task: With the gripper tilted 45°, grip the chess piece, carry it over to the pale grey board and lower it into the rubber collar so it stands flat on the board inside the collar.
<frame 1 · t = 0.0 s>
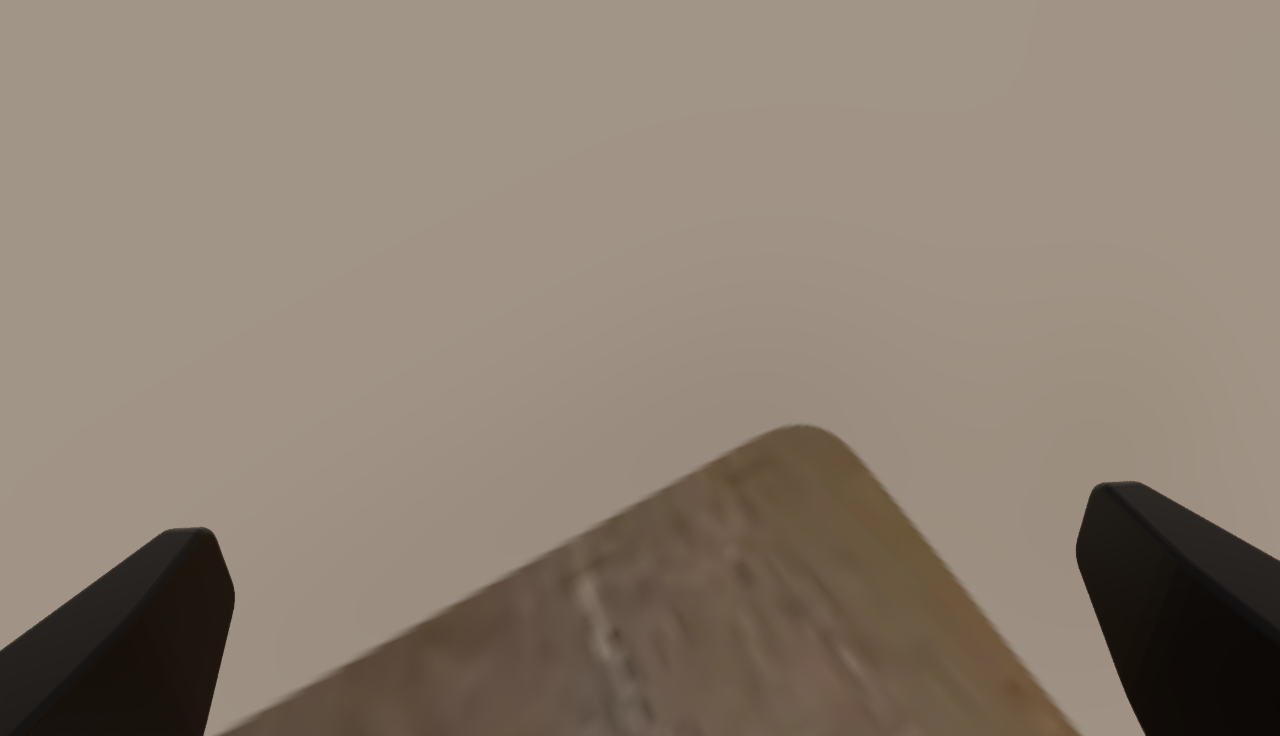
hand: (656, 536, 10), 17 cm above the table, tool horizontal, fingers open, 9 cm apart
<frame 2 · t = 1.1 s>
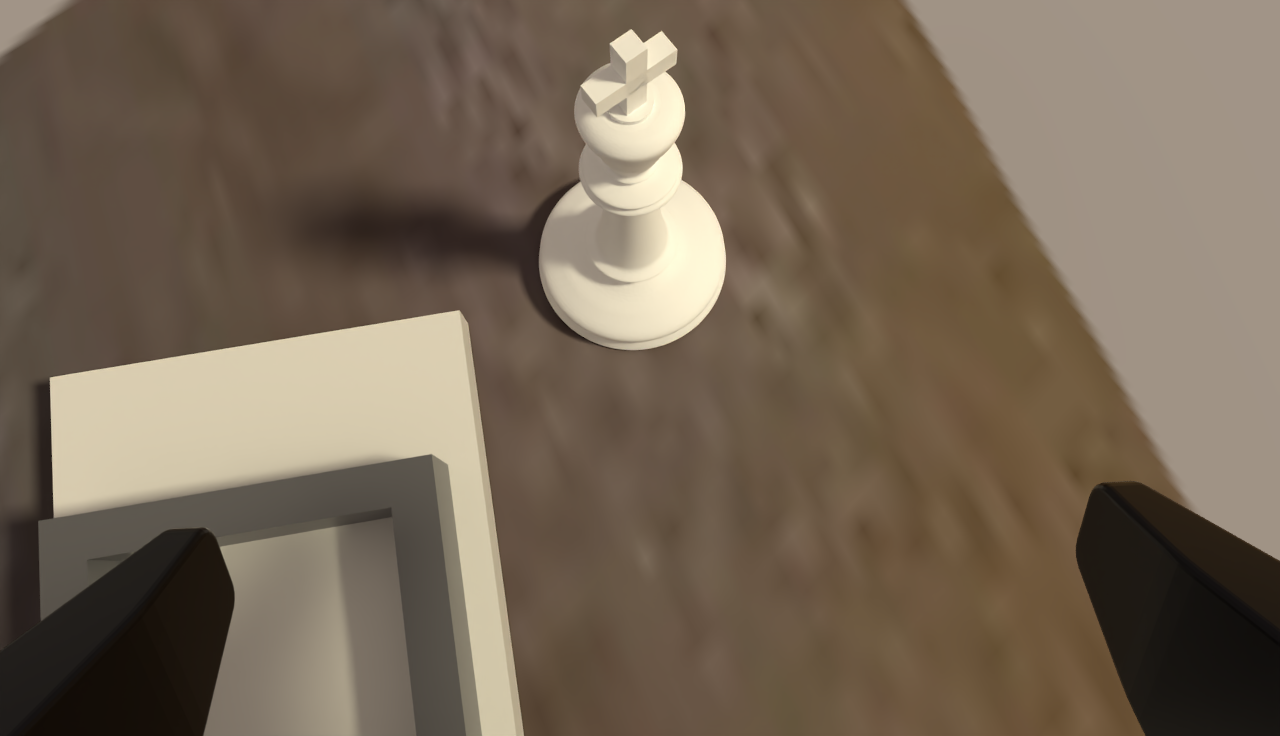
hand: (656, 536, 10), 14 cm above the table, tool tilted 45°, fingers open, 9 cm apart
chess piece: (632, 263, 25), on the table
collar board: (302, 677, 22), on the table
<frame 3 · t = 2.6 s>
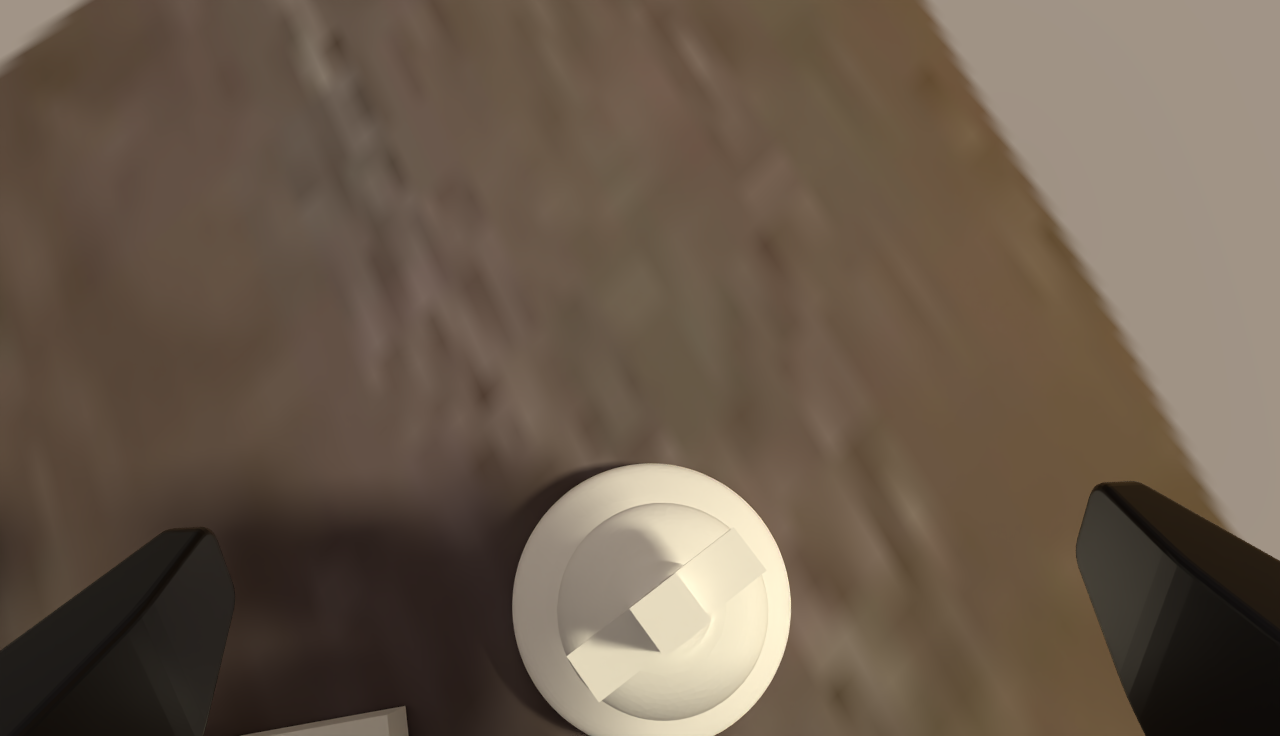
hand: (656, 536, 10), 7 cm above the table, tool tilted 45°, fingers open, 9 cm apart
chess piece: (651, 601, 17), on the table
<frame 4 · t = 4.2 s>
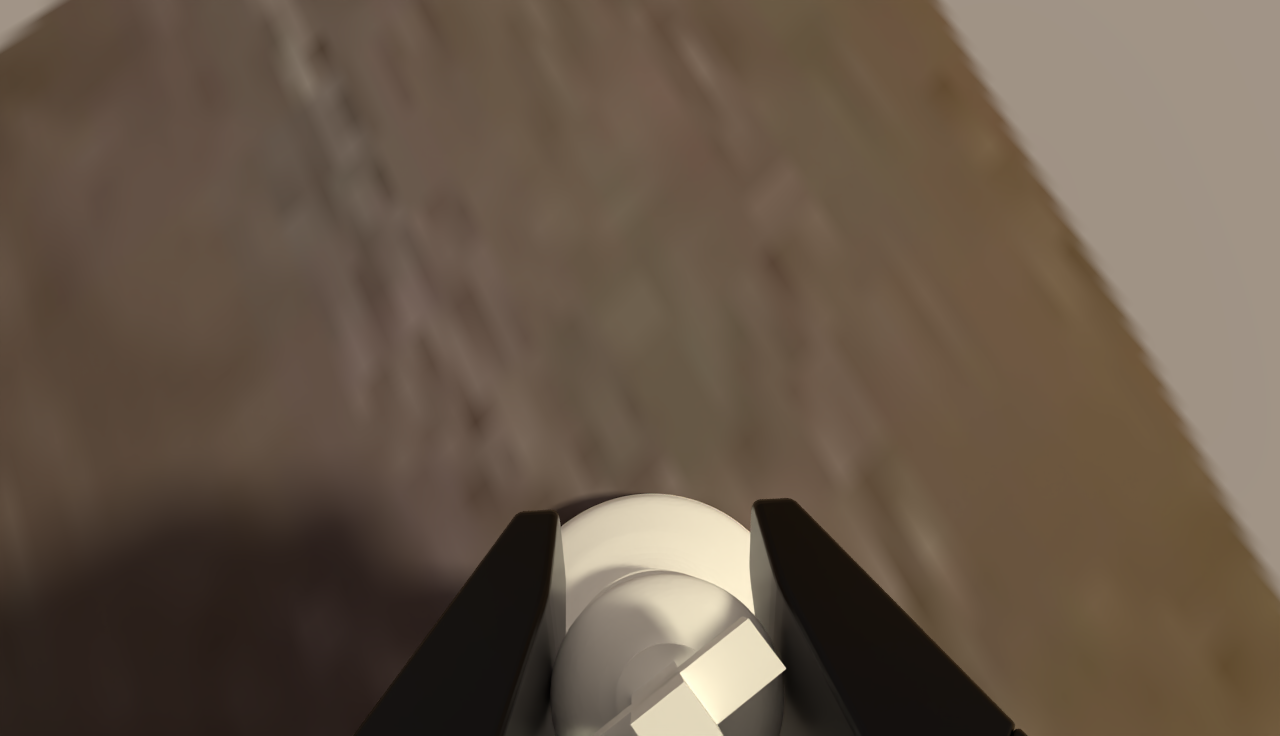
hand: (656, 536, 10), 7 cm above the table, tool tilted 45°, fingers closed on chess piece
chess piece: (652, 640, 16), on the table, touching gripper
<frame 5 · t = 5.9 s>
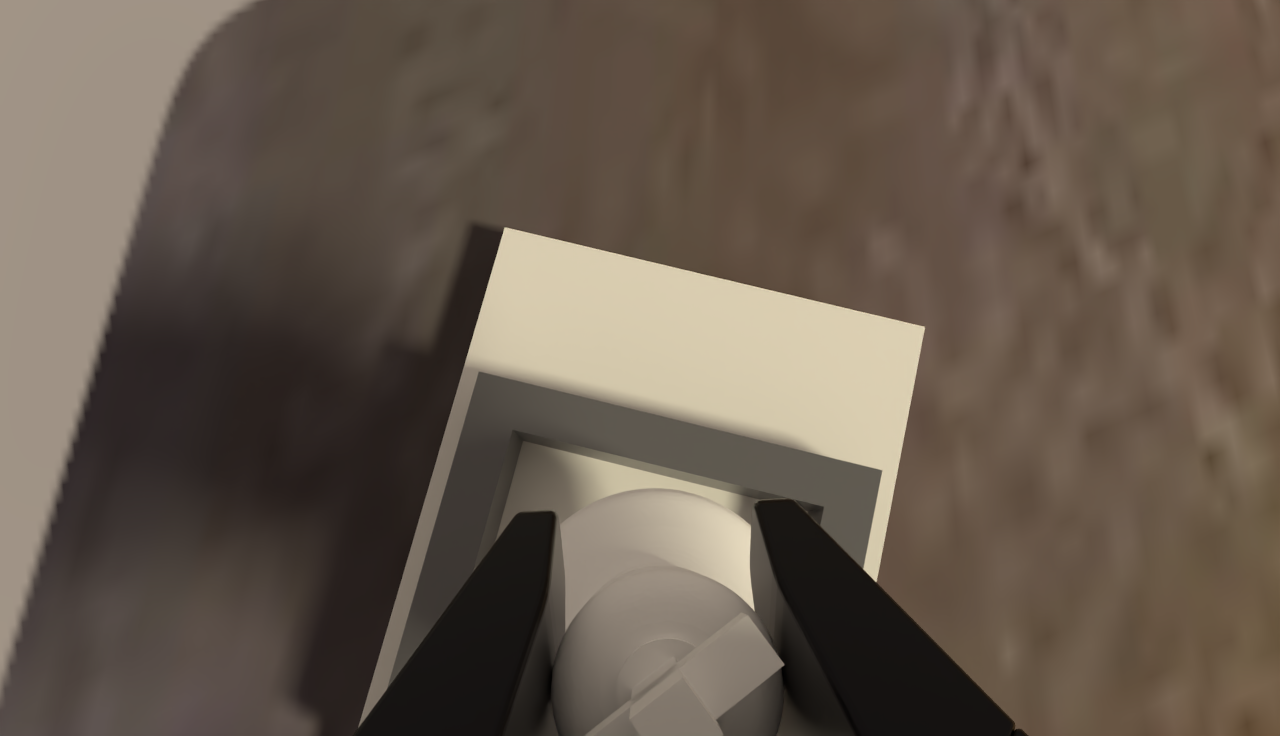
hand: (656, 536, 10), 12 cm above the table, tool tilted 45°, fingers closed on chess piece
chess piece: (654, 633, 16), point 5 cm above the table, touching gripper
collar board: (629, 619, 21), on the table
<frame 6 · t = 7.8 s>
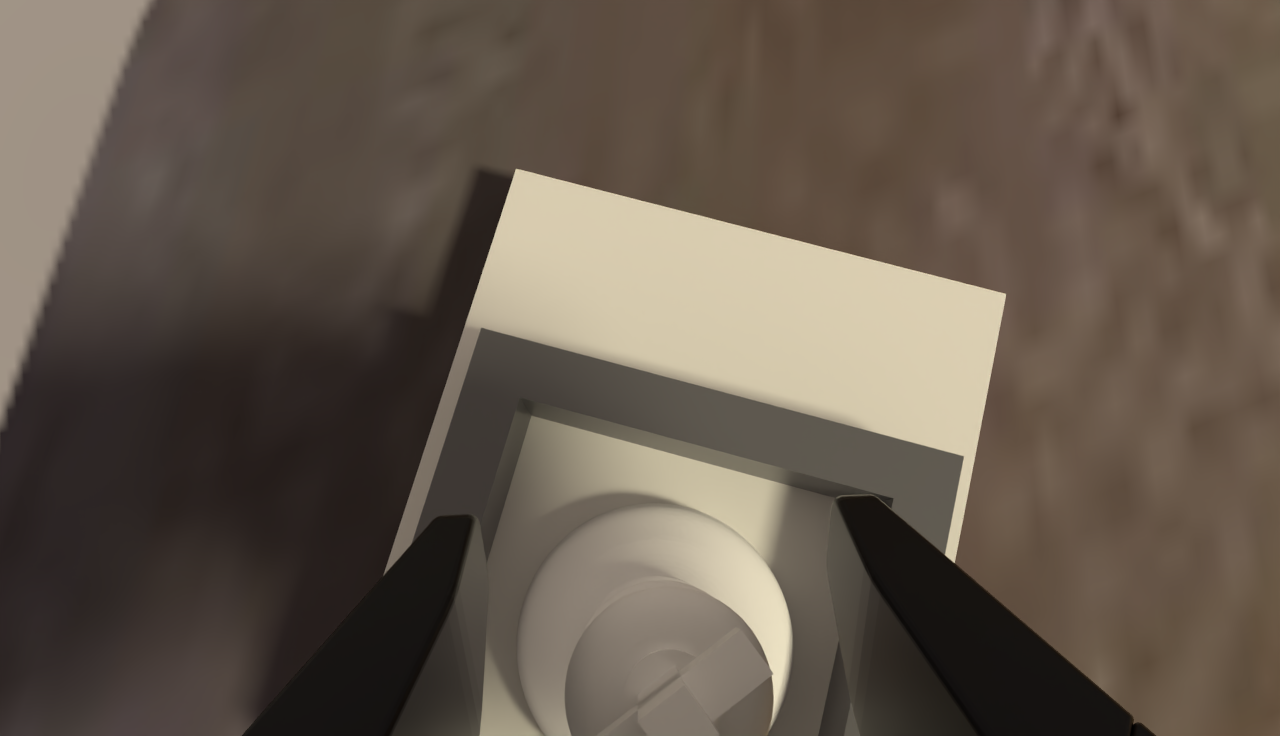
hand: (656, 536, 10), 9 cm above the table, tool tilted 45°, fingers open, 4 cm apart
chess piece: (654, 641, 17), point 1 cm above the table, touching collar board
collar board: (651, 631, 18), on the table
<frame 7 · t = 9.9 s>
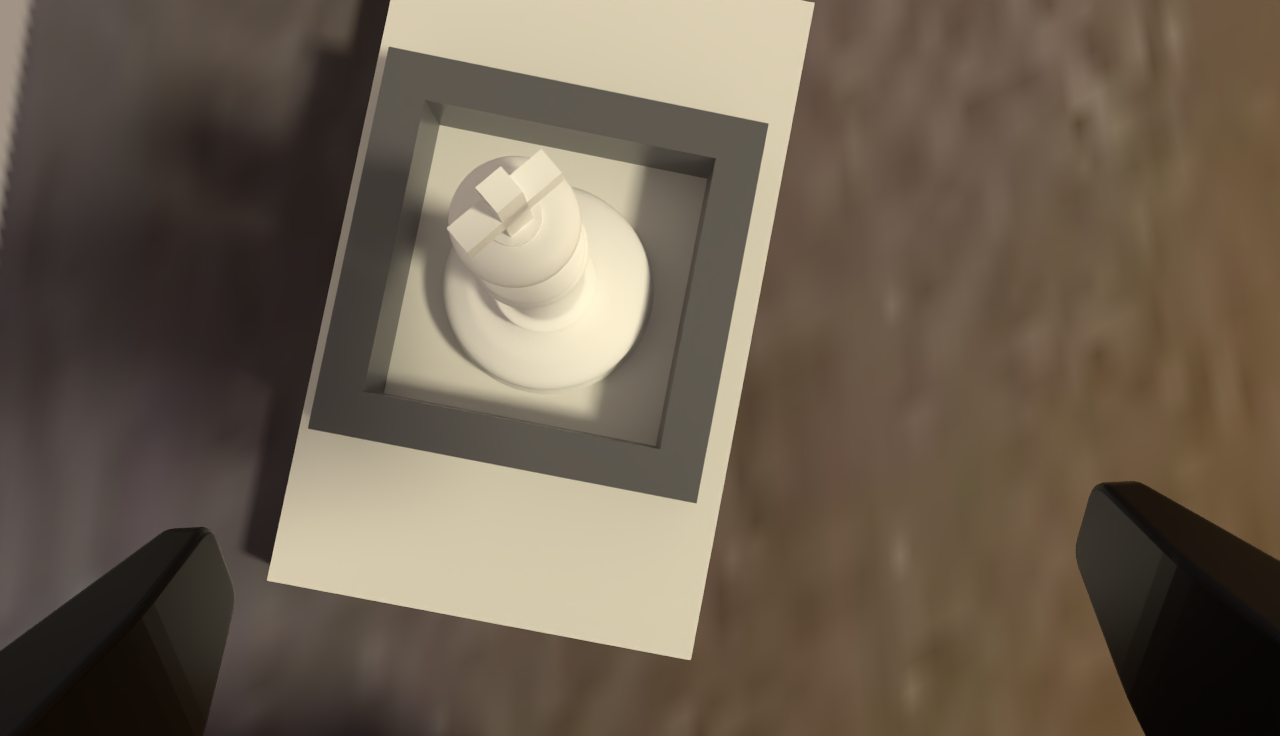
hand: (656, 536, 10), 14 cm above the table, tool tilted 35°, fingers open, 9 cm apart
chess piece: (549, 291, 22), point 1 cm above the table, touching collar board
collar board: (550, 291, 23), on the table
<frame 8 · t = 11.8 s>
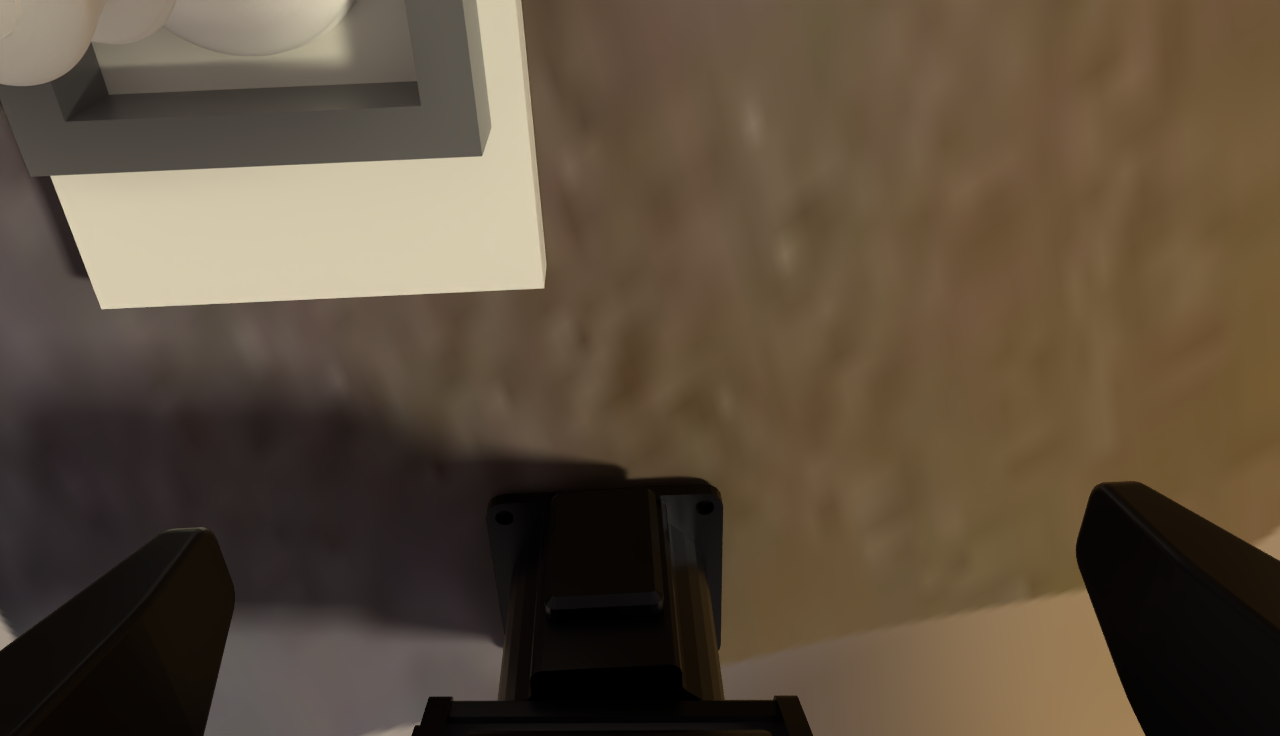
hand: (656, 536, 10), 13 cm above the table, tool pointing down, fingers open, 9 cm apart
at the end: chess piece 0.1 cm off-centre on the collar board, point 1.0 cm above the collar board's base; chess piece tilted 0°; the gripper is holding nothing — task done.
